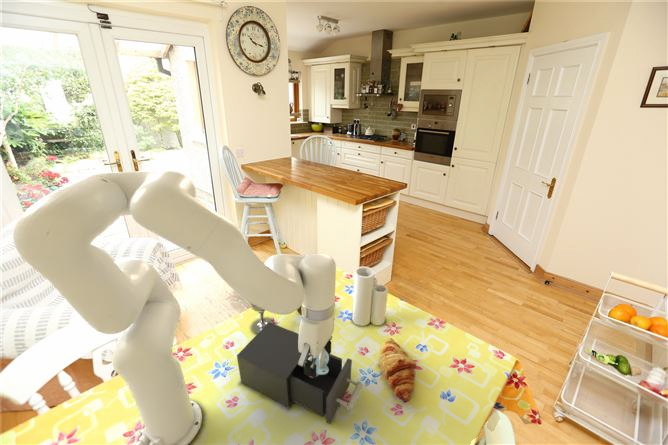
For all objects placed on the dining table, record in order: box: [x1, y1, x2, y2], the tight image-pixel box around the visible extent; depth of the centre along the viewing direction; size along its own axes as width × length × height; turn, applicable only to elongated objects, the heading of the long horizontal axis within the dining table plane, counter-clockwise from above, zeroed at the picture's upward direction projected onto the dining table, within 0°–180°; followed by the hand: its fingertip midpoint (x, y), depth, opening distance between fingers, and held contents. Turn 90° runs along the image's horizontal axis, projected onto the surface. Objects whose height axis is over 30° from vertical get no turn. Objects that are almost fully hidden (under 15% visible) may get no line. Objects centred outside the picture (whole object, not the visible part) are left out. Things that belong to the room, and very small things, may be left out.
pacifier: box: [308, 348, 329, 378], centre depth 72 cm, size 7×6×6 cm
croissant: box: [378, 337, 417, 404], centre depth 83 cm, size 21×10×8 cm, turn 3°
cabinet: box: [236, 322, 302, 409], centre depth 80 cm, size 16×14×11 cm
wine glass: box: [247, 301, 274, 335], centre depth 96 cm, size 8×8×15 cm
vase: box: [351, 265, 389, 327], centre depth 100 cm, size 11×7×20 cm, turn 95°
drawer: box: [288, 353, 364, 425], centre depth 75 cm, size 19×12×9 cm, turn 64°
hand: (317, 362), depth 73 cm, fingers closed on pacifier, 7 cm apart
